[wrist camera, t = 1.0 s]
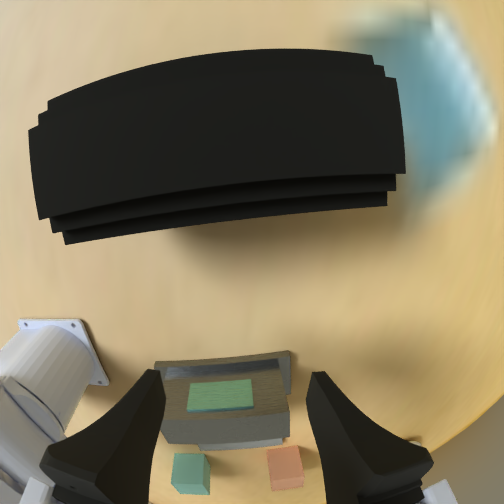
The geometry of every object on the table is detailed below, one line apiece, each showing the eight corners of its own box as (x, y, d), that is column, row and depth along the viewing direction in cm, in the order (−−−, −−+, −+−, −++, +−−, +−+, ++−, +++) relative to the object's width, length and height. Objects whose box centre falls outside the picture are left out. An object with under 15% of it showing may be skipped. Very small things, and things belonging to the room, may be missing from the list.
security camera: (365, 184, 19) (456, 209, 10) (117, 213, 19) (36, 257, 9) (357, 94, 17) (443, 59, 8) (105, 122, 17) (16, 103, 7)
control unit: (169, 397, 25) (160, 447, 18) (155, 361, 23) (139, 413, 17) (289, 388, 25) (301, 438, 19) (288, 350, 23) (303, 403, 17)
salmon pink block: (268, 462, 30) (272, 491, 25) (266, 449, 29) (270, 480, 24) (297, 458, 30) (303, 486, 25) (297, 445, 29) (304, 475, 24)
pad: (200, 446, 28) (200, 450, 27) (184, 409, 25) (183, 413, 25) (281, 440, 28) (282, 444, 27) (280, 402, 26) (280, 406, 25)
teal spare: (182, 465, 30) (180, 493, 25) (174, 453, 28) (170, 483, 24) (210, 466, 30) (209, 494, 25) (204, 453, 28) (202, 484, 24)
